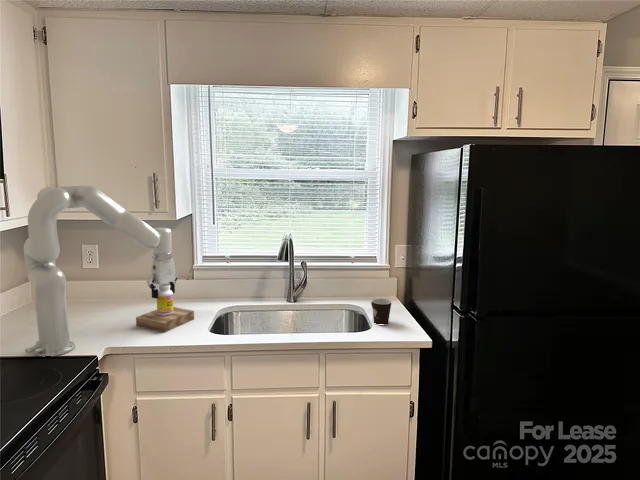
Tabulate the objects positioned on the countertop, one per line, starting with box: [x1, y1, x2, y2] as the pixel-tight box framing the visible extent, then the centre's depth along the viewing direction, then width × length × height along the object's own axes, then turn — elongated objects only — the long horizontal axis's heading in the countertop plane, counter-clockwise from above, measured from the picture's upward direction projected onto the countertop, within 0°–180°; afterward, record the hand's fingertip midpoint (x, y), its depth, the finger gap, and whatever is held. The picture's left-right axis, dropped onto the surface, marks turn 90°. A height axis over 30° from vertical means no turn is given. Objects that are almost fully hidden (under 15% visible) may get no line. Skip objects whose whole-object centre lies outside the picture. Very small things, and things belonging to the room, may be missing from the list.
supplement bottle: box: [156, 283, 174, 316], centre depth 186 cm, size 7×7×13 cm
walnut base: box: [135, 306, 195, 333], centre depth 187 cm, size 18×16×4 cm
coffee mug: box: [370, 297, 392, 325], centre depth 191 cm, size 12×9×10 cm
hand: (163, 295), depth 185 cm, fingers open, 9 cm apart
